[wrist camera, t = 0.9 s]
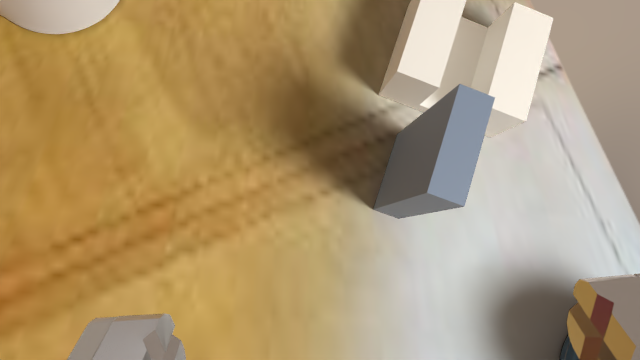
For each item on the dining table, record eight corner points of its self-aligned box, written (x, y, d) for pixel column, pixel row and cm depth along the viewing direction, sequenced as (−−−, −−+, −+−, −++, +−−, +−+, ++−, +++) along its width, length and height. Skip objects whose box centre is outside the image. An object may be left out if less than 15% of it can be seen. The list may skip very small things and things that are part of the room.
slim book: (373, 209, 48) (427, 192, 32) (397, 134, 50) (459, 83, 34) (398, 218, 48) (464, 206, 33) (421, 143, 50) (495, 97, 34)
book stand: (378, 94, 50) (397, 71, 43) (408, 4, 52) (431, -33, 45) (490, 137, 51) (526, 121, 44) (515, 47, 53) (553, 18, 46)
